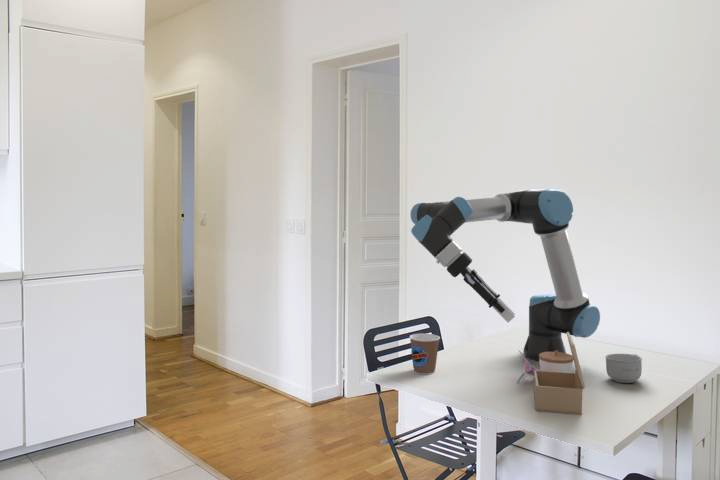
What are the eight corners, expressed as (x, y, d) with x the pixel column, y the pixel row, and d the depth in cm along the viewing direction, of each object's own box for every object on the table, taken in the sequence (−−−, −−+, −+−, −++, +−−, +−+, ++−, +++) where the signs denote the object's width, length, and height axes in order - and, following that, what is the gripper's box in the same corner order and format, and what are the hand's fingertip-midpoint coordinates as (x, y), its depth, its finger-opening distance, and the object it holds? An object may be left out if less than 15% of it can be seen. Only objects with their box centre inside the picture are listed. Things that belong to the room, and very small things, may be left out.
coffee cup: (402, 371, 208) (403, 336, 207) (421, 365, 215) (421, 332, 215) (427, 378, 201) (427, 341, 200) (445, 371, 208) (446, 336, 208)
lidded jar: (572, 376, 203) (573, 348, 203) (572, 385, 193) (573, 356, 193) (539, 373, 207) (540, 345, 206) (537, 382, 197) (538, 353, 196)
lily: (538, 394, 188) (552, 366, 188) (503, 375, 192) (517, 348, 193) (538, 395, 199) (552, 368, 200) (505, 377, 203) (518, 351, 204)
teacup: (625, 387, 191) (626, 362, 191) (597, 378, 201) (598, 354, 200) (655, 381, 198) (656, 357, 197) (626, 372, 207) (627, 349, 207)
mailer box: (536, 410, 170) (536, 386, 170) (533, 393, 186) (534, 370, 185) (581, 414, 168) (582, 389, 167) (575, 396, 183) (576, 373, 183)
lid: (570, 345, 167) (574, 344, 167) (565, 332, 182) (569, 331, 182) (581, 389, 167) (585, 388, 167) (575, 372, 183) (579, 372, 182)
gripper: (447, 265, 189) (502, 321, 187) (442, 271, 174) (501, 332, 171) (465, 248, 188) (520, 304, 185) (461, 253, 172) (521, 314, 169)
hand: (511, 318), depth 178 cm, fingers open, 3 cm apart
